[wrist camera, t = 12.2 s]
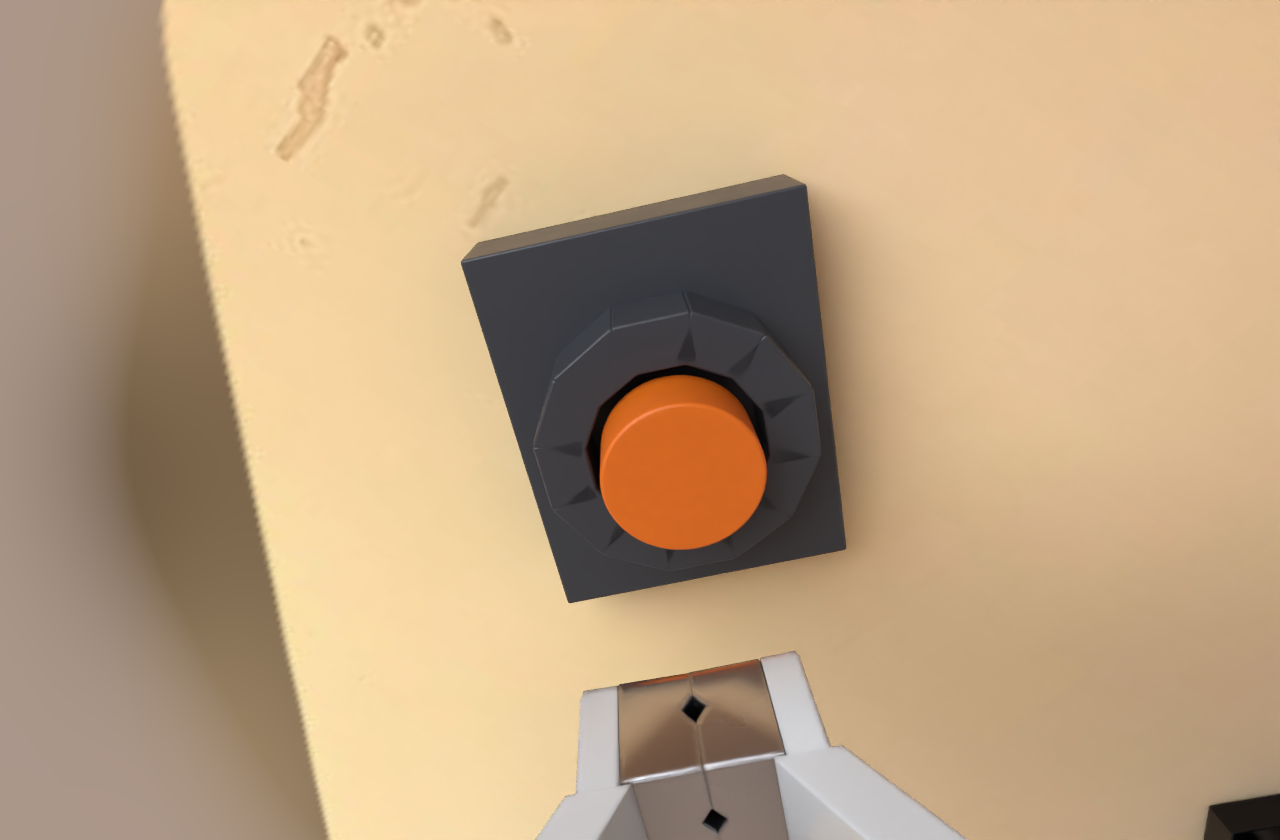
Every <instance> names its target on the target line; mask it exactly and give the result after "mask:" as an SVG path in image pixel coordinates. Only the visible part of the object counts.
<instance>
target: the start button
mask: <svg viewBox="0 0 1280 840" xmlns="http://www.w3.org/2000/svg"><path fill="white" fill-rule="evenodd" d="M766 481H767V465H766V459H765V455H764V452H763V449H762V447H761V444H760V442H759V439H758V437H757V435H756V432H755V430H754V427H753V425H752V423H751V420H750V418H749V415H748V413H747V412H746V410H745V408H744V406H743V405H742V404H741V403H740V401H739V400H738V399H737V398H736V397H735V396H734V395H733V394H732V393H731V392H730V391H728V390H727V389H725V388H724V387H723V386H721V385H719V384H717V383H715V382H713V381H710V380H708V379H705V378H701V377H697V376H690V375H671V376H664V377H660V378H656V379H652V380H650V381H648V382H645V383H643V384H641V385H639V386H638V387H636V388H634V389H633V390H631V391H630V392H629V393H627V394H626V395H625V396H624V397H623V398H622V399H621V400H620V401H619V402H618V403H617V404H616V406H615V407H614V408H613V409H612V411H611V413H610V414H609V416H608V418H607V420H606V423H605V425H604V429H603V432H602V438H601V454H600V488H601V493H602V497H603V500H604V503H605V505H606V507H607V509H608V511H609V513H610V514H611V516H612V517H613V519H614V520H615V521H616V522H617V523H618V524H619V525H620V526H621V528H623V529H624V530H625V531H626V532H627V533H629V534H630V535H631V536H633V537H635V538H636V539H638V540H640V541H642V542H644V543H647V544H649V545H652V546H655V547H659V548H664V549H672V550H689V549H696V548H701V547H705V546H709V545H711V544H714V543H717V542H719V541H721V540H723V539H725V538H727V537H728V536H730V535H731V534H733V533H734V532H736V531H737V530H738V529H739V528H741V527H742V526H743V525H744V524H745V523H746V522H747V521H748V520H749V519H750V517H751V516H752V515H753V513H754V512H755V510H756V509H757V507H758V505H759V503H760V501H761V499H762V496H763V493H764V491H765V486H766Z"/></svg>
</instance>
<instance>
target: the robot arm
mask: <svg viewBox="0 0 1280 840" xmlns="http://www.w3.org/2000/svg"><path fill="white" fill-rule="evenodd" d="M535 840H968V839H966V838H965V837H964V836H962V835H961V834H960V833H958V832H957V831H956V830H954V829H953V828H952V827H950V826H949V825H948V824H946V823H945V822H944V821H942V820H941V819H940V818H938V817H937V816H936V815H934V814H933V813H932V812H930V811H929V810H928V809H926V808H925V807H924V806H922V805H921V804H920V803H919V802H917V801H916V800H915V799H913V798H912V797H911V796H909V795H908V794H907V793H905V792H904V791H903V790H901V789H900V788H899V787H897V786H896V785H895V784H893V783H892V782H891V781H889V780H888V779H887V778H885V777H884V776H883V775H881V774H880V773H879V772H877V771H876V770H875V769H873V768H872V767H871V766H870V765H868V764H867V763H866V762H864V761H863V760H862V759H860V758H859V757H858V756H856V755H855V754H854V753H852V752H851V751H850V750H848V749H847V748H846V747H844V746H843V745H840V746H834V747H831V745H830V742H829V740H828V737H827V734H826V731H825V728H824V725H823V722H822V720H821V717H820V714H819V711H818V708H817V705H816V702H815V700H814V697H813V694H812V691H811V688H810V685H809V682H808V680H807V677H806V674H805V671H804V668H803V665H802V663H801V660H800V657H799V655H798V654H797V653H796V652H795V651H792V652H787V653H783V654H778V655H773V656H768V657H763V658H760V661H759V659H755V660H750V661H745V662H740V663H735V664H730V665H725V666H720V667H715V668H710V669H705V670H700V671H695V672H690V673H686V674H680V675H674V676H668V677H662V678H656V679H650V680H644V681H637V682H631V683H625V684H619V686H613V687H607V688H600V689H594V690H587V691H583V694H582V697H581V700H580V716H579V739H578V761H577V784H576V794H573V795H568V796H565V797H564V798H563V800H562V801H561V803H560V804H559V806H558V807H557V809H556V810H555V812H554V813H553V814H552V816H551V817H550V819H549V820H548V822H547V823H546V825H545V826H544V828H543V829H542V830H541V832H540V833H539V835H538V836H537V838H536V839H535Z"/></svg>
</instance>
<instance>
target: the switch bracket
mask: <svg viewBox="0 0 1280 840" xmlns="http://www.w3.org/2000/svg"><path fill="white" fill-rule="evenodd" d="M1204 840H1280V794H1278V795H1272V796H1267V797H1261V798H1255V799H1249V800H1243V801H1237V802H1231V803H1225V804H1220V805H1214V806H1210V807H1209V813H1208V819H1207V824H1206V830H1205V836H1204Z"/></svg>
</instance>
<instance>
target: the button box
mask: <svg viewBox="0 0 1280 840" xmlns="http://www.w3.org/2000/svg"><path fill="white" fill-rule="evenodd" d="M461 265H462V268H463V271H464V275H465V278H466V281H467V284H468V287H469V290H470V294H471V297H472V300H473V303H474V306H475V309H476V313H477V316H478V319H479V322H480V325H481V328H482V332H483V335H484V338H485V341H486V344H487V347H488V351H489V354H490V357H491V360H492V363H493V366H494V369H495V373H496V376H497V379H498V382H499V385H500V388H501V392H502V395H503V398H504V401H505V404H506V407H507V411H508V414H509V417H510V420H511V423H512V426H513V430H514V433H515V436H516V439H517V442H518V445H519V449H520V452H521V455H522V458H523V461H524V464H525V468H526V471H527V474H528V477H529V480H530V483H531V486H532V490H533V493H534V496H535V499H536V502H537V505H538V509H539V512H540V515H541V518H542V521H543V524H544V528H545V531H546V534H547V537H548V540H549V543H550V547H551V550H552V553H553V556H554V559H555V562H556V566H557V569H558V572H559V575H560V578H561V581H562V585H563V588H564V591H565V594H566V597H567V600H568V602H569V603H574V602H579V601H584V600H589V599H594V598H599V597H604V596H610V595H615V594H620V593H625V592H630V591H635V590H640V589H646V588H651V587H656V586H661V585H666V584H671V583H676V582H682V581H687V580H692V579H697V578H702V577H707V576H712V575H718V574H723V573H728V572H733V571H738V570H743V569H748V568H754V567H759V566H764V565H769V564H774V563H779V562H784V561H790V560H795V559H800V558H805V557H810V556H815V555H820V554H826V553H831V552H836V551H841V550H845V549H846V539H845V530H844V521H843V512H842V503H841V494H840V485H839V476H838V467H837V458H836V449H835V440H834V431H833V422H832V413H831V404H830V395H829V386H828V376H827V367H826V358H825V349H824V340H823V331H822V322H821V313H820V304H819V295H818V286H817V277H816V268H815V259H814V250H813V241H812V232H811V222H810V213H809V204H808V195H807V186H806V185H805V184H803V183H801V182H799V181H797V180H795V179H793V178H791V177H789V176H787V175H784V174H783V175H778V176H774V177H769V178H765V179H760V180H756V181H751V182H747V183H743V184H738V185H734V186H729V187H725V188H720V189H716V190H711V191H707V192H702V193H698V194H693V195H689V196H685V197H680V198H676V199H671V200H667V201H662V202H658V203H653V204H649V205H644V206H640V207H635V208H631V209H626V210H622V211H618V212H613V213H609V214H604V215H600V216H595V217H591V218H586V219H582V220H577V221H573V222H568V223H564V224H560V225H555V226H551V227H546V228H542V229H537V230H533V231H528V232H524V233H519V234H515V235H510V236H506V237H502V238H497V239H493V240H488V241H484V242H479V243H477V244H476V245H475V246H474V247H473V248H472V250H471V251H470V252H469V253H468V254H467V255H466V256H465V257H464V259H463V260H462V261H461ZM671 375H690V376H697V377H701V378H705V379H708V380H710V381H713V382H715V383H717V384H719V385H721V386H723V387H724V388H725V389H727V390H728V391H730V392H731V393H732V394H733V395H734V396H735V397H736V398H737V399H738V400H739V401H740V403H741V404H742V405H743V406H744V408H745V410H746V412H747V413H748V415H749V418H750V420H751V423H752V425H753V427H754V430H755V432H756V435H757V437H758V439H759V442H760V444H761V447H762V449H763V452H764V455H765V459H766V465H767V481H766V486H765V491H764V493H763V496H762V499H761V501H760V503H759V505H758V507H757V509H756V510H755V512H754V513H753V515H752V516H751V517H750V519H749V520H748V521H747V522H746V523H745V524H744V525H743V526H742V527H741V528H739V529H738V530H737V531H736V532H734V533H733V534H731V535H730V536H728V537H727V538H725V539H723V540H721V541H719V542H717V543H714V544H711V545H709V546H705V547H701V548H696V549H689V550H672V549H664V548H659V547H655V546H652V545H649V544H647V543H644V542H642V541H640V540H638V539H636V538H635V537H633V536H631V535H630V534H629V533H627V532H626V531H625V530H624V529H623V528H621V526H620V525H619V524H618V523H617V522H616V521H615V520H614V519H613V517H612V516H611V514H610V513H609V511H608V509H607V507H606V505H605V503H604V500H603V497H602V493H601V488H600V454H601V438H602V432H603V429H604V425H605V423H606V420H607V418H608V416H609V414H610V413H611V411H612V409H613V408H614V407H615V406H616V404H617V403H618V402H619V401H620V400H621V399H622V398H623V397H624V396H625V395H626V394H627V393H629V392H630V391H631V390H633V389H634V388H636V387H638V386H639V385H641V384H643V383H645V382H648V381H650V380H652V379H656V378H660V377H664V376H671Z"/></svg>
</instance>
